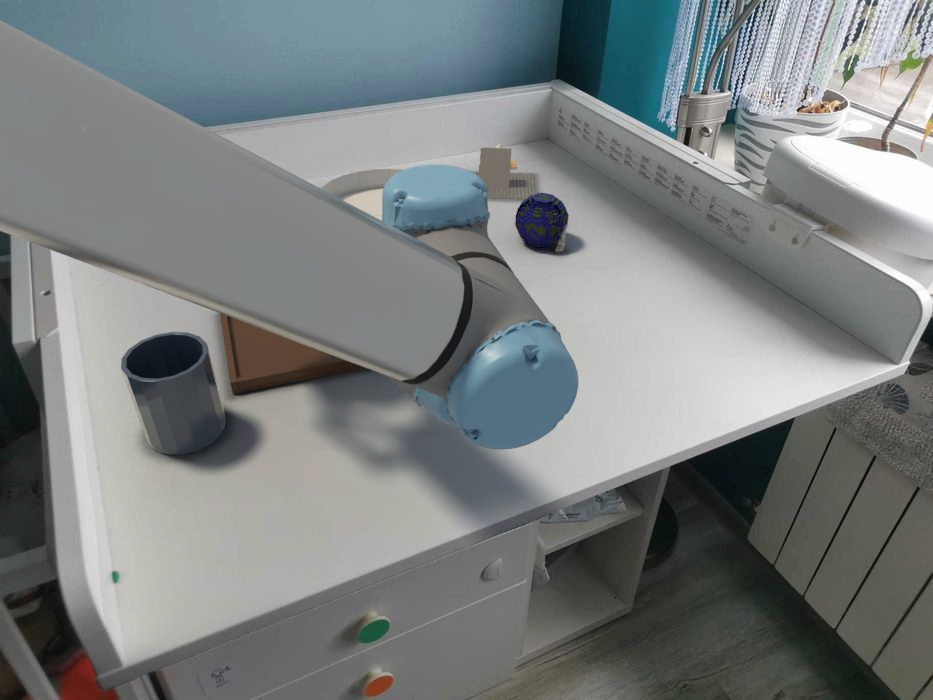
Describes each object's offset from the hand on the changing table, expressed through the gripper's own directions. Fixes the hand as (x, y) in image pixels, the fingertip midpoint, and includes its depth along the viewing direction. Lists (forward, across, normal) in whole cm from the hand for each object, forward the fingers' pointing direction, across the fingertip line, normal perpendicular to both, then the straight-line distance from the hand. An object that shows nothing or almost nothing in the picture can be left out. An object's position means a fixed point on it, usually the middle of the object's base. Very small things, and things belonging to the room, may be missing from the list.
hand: (258, 216), depth 77 cm
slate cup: (-7, -15, -18) cm, 24 cm away
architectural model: (+22, +54, -18) cm, 61 cm away
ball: (0, +46, -18) cm, 49 cm away
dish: (+21, +30, -18) cm, 41 cm away
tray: (0, +4, -18) cm, 18 cm away
